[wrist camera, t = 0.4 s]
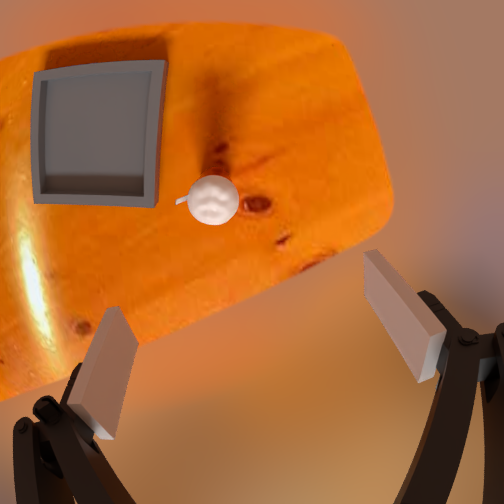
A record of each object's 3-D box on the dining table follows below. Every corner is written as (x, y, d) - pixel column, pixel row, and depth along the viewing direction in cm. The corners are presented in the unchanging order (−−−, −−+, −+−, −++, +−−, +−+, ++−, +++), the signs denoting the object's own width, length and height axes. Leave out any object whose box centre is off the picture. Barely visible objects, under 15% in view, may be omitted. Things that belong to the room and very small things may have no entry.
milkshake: (191, 156, 33) (179, 175, 24) (238, 163, 34) (245, 185, 25) (185, 195, 35) (172, 227, 26) (231, 202, 35) (234, 236, 27)
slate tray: (43, 197, 32) (34, 203, 30) (44, 73, 26) (34, 72, 23) (158, 201, 35) (154, 207, 32) (168, 63, 28) (164, 59, 26)
